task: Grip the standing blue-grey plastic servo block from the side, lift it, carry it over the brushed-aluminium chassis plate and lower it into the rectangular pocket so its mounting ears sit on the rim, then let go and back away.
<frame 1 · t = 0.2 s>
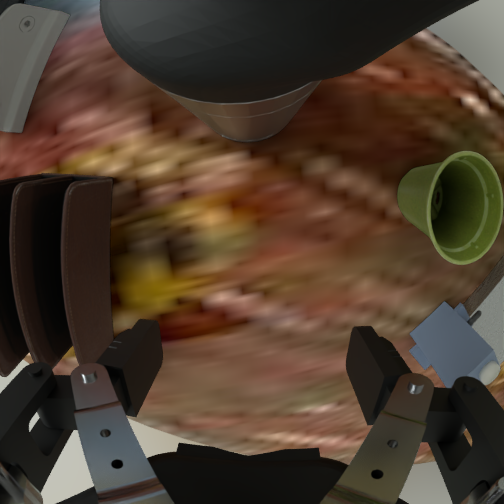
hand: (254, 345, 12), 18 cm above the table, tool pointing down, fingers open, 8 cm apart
plant pot: (419, 195, 27), on the table
letter holder: (76, 260, 30), on the table
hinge: (27, 70, 23), on the table
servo: (433, 327, 31), on the table, touching chassis plate
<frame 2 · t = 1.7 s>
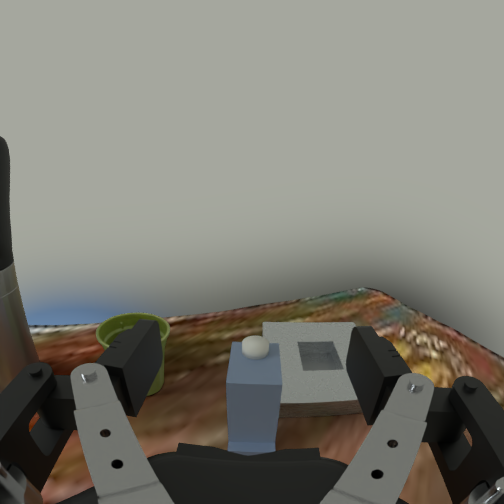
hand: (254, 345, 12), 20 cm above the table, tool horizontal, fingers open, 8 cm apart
plant pot: (143, 384, 35), on the table
chassis plate: (317, 368, 40), on the table
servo: (251, 436, 27), on the table, touching chassis plate
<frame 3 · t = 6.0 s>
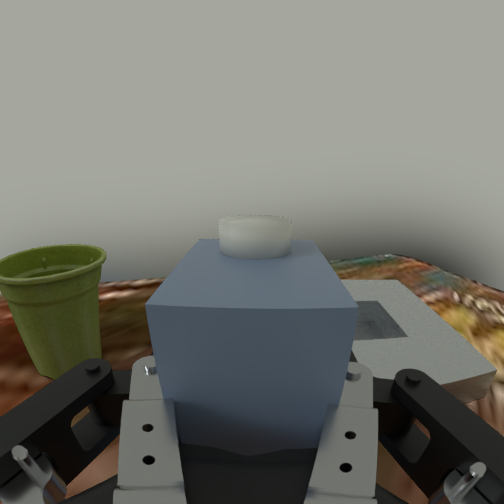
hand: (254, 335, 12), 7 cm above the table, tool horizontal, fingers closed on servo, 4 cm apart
plant pot: (70, 363, 19), on the table
chassis plate: (358, 342, 24), on the table
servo: (252, 472, 12), on the table, touching gripper
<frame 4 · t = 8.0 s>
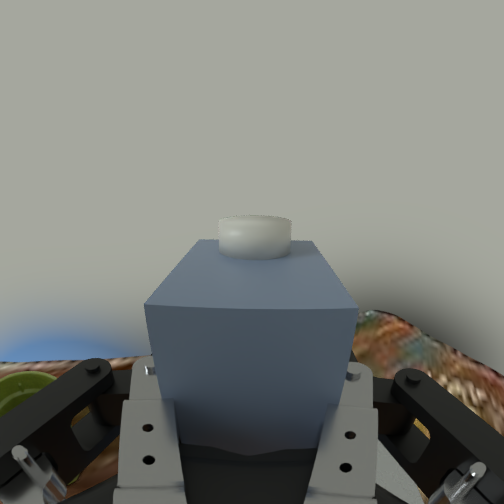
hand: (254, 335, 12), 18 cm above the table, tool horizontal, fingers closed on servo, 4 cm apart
plant pot: (58, 465, 18), on the table
chassis plate: (309, 456, 23), on the table
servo: (251, 473, 12), point 11 cm above the table, touching gripper
when the fingers open (9 cm above the table, at t = 10.3 s): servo drops 1 cm, resting on chassis plate.
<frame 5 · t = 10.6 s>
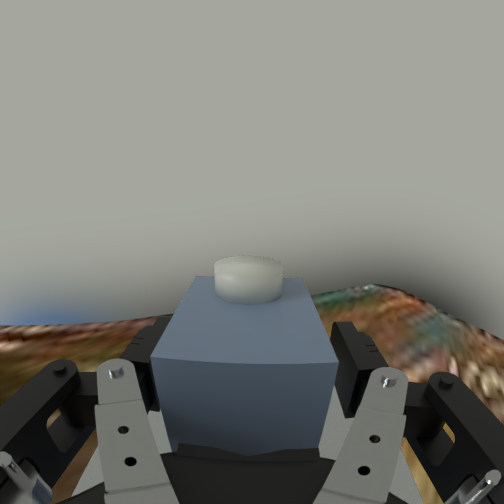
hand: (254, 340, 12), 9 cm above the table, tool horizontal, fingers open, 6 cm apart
chassis plate: (249, 490, 12), on the table
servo: (245, 486, 12), resting on chassis plate
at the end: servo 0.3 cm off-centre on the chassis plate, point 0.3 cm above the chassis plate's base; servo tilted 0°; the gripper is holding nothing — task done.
